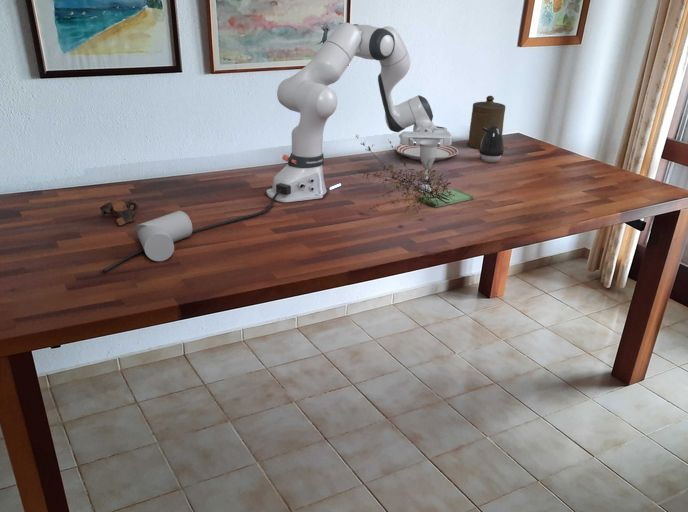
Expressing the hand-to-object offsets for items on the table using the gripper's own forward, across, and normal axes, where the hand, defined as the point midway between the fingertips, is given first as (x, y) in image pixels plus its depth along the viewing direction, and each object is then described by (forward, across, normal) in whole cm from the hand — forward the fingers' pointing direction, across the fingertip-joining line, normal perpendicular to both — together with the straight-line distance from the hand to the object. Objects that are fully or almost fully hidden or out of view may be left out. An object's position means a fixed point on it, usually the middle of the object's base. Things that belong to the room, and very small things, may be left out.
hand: (426, 144), depth 267 cm
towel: (+21, +7, +14) cm, 27 cm away
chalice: (+12, 0, +14) cm, 19 cm away
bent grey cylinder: (+75, -82, +14) cm, 112 cm away
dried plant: (+46, -10, +14) cm, 49 cm away
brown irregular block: (+55, -102, +14) cm, 117 cm away
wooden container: (-57, +31, +15) cm, 66 cm away
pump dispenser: (-31, +30, +15) cm, 46 cm away
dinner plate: (-36, +3, +15) cm, 39 cm away
